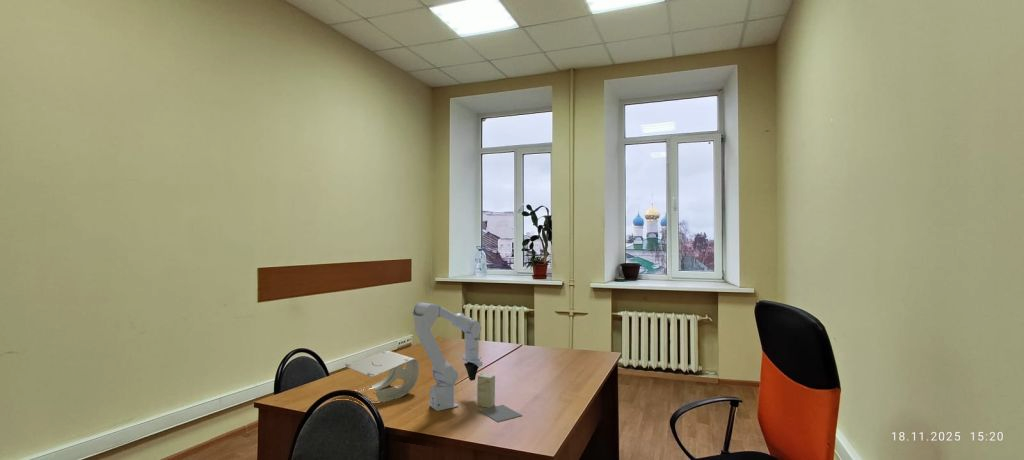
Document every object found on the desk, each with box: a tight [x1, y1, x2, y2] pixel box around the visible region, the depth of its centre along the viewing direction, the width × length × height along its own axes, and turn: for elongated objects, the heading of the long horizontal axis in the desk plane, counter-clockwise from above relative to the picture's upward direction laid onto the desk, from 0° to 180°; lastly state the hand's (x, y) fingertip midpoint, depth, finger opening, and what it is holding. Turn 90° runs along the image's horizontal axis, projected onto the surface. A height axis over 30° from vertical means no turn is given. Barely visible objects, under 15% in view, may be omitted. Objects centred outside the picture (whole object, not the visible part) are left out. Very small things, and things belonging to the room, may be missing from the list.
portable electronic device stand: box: [344, 350, 420, 403], centre depth 206 cm, size 26×24×16 cm
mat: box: [479, 404, 523, 423], centre depth 179 cm, size 11×14×1 cm
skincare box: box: [476, 372, 496, 409], centre depth 188 cm, size 6×4×12 cm
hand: (472, 379), depth 198 cm, fingers closed
